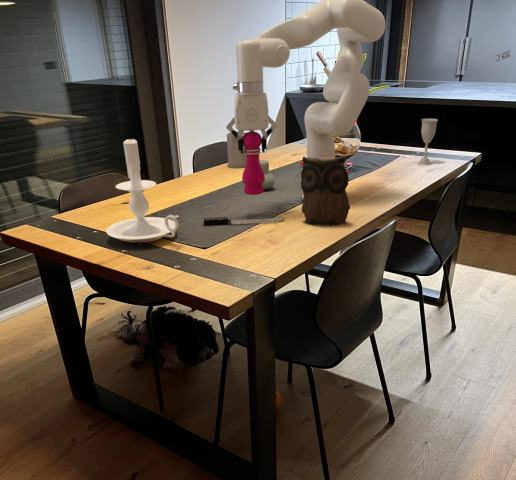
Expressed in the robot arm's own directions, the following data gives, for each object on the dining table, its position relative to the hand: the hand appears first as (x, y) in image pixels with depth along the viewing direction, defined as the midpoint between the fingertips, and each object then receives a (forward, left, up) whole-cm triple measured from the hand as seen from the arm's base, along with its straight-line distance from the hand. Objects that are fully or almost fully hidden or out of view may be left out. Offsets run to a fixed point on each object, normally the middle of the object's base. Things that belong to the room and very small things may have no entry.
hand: (252, 151), depth 166 cm
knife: (+6, +5, -20) cm, 22 cm away
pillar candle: (-30, -72, -20) cm, 80 cm away
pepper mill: (0, 0, -13) cm, 13 cm away
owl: (-17, +17, -20) cm, 31 cm away
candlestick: (+37, +3, -20) cm, 43 cm away
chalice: (-99, -27, -20) cm, 104 cm away
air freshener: (-19, -30, -20) cm, 40 cm away
